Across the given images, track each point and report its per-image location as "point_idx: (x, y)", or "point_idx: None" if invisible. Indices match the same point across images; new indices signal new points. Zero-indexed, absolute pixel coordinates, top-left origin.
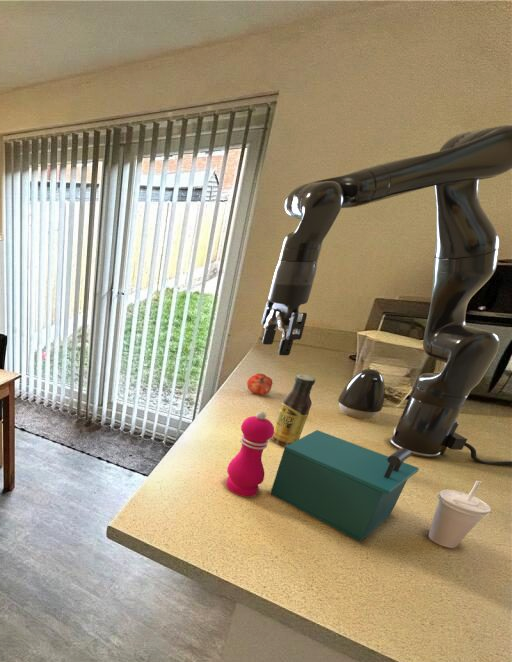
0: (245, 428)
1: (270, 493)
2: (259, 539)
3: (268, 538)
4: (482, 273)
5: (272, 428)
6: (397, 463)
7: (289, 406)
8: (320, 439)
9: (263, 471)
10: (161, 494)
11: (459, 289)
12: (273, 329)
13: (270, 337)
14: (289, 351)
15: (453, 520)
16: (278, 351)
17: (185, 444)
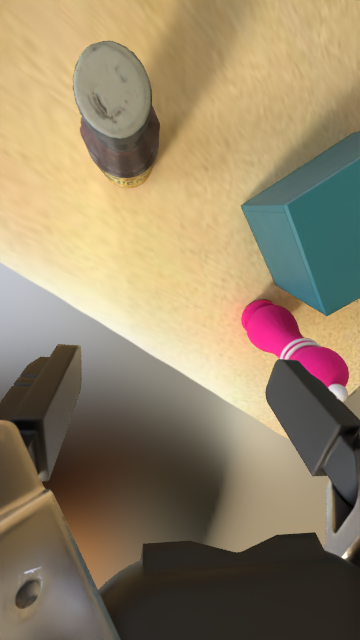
0: None
1: (276, 285)
2: (337, 335)
3: (338, 326)
4: None
5: (346, 366)
6: None
7: (141, 173)
8: (323, 229)
9: (294, 319)
10: (256, 402)
11: None
12: (33, 441)
13: (66, 392)
14: (322, 385)
15: None
16: (274, 408)
17: (146, 349)
